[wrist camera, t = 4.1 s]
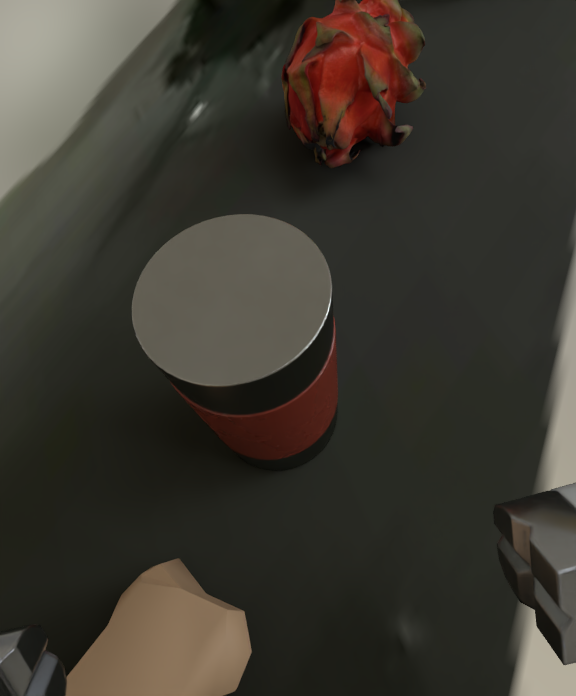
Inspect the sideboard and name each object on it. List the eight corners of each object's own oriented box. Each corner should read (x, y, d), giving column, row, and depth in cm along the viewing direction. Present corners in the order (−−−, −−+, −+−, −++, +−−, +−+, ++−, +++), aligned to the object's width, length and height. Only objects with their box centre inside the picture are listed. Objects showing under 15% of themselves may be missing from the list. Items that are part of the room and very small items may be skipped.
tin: (356, 381, 23) (365, 242, 14) (308, 493, 21) (278, 422, 11) (252, 342, 25) (194, 193, 15) (198, 441, 23) (89, 342, 13)
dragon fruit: (388, 96, 35) (334, 224, 32) (298, 22, 32) (230, 155, 30) (473, 14, 27) (413, 174, 25) (364, -93, 25) (281, 74, 22)
